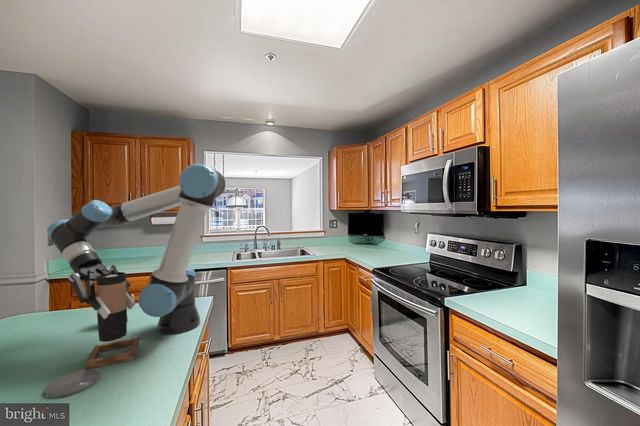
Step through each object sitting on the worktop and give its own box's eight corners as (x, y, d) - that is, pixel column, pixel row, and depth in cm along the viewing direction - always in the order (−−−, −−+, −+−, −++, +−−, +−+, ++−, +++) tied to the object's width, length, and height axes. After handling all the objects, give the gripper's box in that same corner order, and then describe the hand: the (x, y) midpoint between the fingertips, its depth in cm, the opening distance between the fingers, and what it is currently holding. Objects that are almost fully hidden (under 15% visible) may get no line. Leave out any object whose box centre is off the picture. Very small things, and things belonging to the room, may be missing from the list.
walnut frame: (138, 342, 97) (138, 337, 97) (134, 359, 86) (134, 352, 86) (95, 351, 91) (95, 345, 91) (85, 369, 81) (85, 362, 81)
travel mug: (111, 343, 84) (109, 278, 84) (91, 341, 86) (89, 277, 85) (133, 332, 92) (131, 272, 91) (114, 330, 93) (112, 271, 93)
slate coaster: (103, 368, 81) (103, 365, 81) (94, 389, 72) (94, 386, 72) (53, 379, 76) (53, 376, 76) (36, 403, 67) (36, 400, 66)
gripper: (108, 260, 102) (143, 307, 98) (39, 273, 83) (78, 332, 79) (118, 246, 101) (154, 293, 96) (50, 256, 81) (91, 315, 77)
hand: (120, 311), depth 88 cm, fingers closed on travel mug, 7 cm apart
